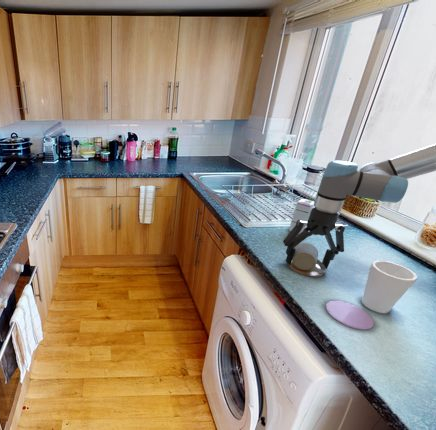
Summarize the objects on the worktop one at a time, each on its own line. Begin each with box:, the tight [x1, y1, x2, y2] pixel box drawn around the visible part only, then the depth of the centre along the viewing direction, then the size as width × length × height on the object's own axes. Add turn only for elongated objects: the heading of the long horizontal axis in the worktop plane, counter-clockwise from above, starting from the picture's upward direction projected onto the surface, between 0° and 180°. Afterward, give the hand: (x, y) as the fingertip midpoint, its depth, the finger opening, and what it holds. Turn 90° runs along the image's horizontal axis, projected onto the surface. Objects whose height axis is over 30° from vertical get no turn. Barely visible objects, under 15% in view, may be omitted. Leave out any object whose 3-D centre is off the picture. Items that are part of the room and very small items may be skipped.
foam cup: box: [361, 259, 418, 314], centre depth 83 cm, size 10×9×13 cm
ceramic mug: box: [292, 242, 327, 274], centre depth 101 cm, size 11×8×8 cm
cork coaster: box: [287, 261, 324, 278], centre depth 103 cm, size 11×11×1 cm
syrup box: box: [288, 198, 315, 235], centre depth 125 cm, size 6×6×14 cm
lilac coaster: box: [325, 300, 375, 331], centre depth 82 cm, size 11×11×1 cm
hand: (305, 264), depth 102 cm, fingers closed on ceramic mug, 11 cm apart
